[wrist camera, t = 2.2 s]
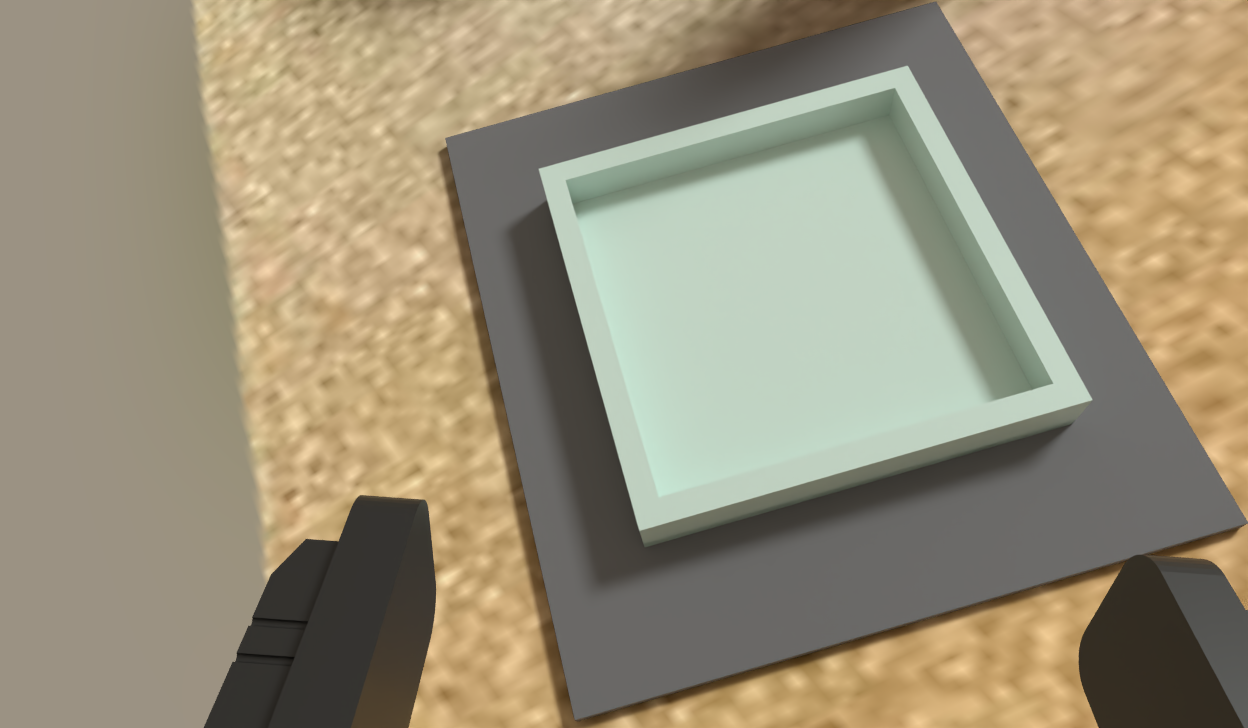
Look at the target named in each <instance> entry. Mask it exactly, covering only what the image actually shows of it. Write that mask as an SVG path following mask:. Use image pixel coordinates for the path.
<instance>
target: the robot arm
mask: <svg viewBox="0 0 1248 728" xmlns="http://www.w3.org/2000/svg"><path fill="white" fill-rule="evenodd" d="M435 603H436V581H435V571H434V561H433V551H432V541H431V531H430V521H429V511H428V506H427V503H426V501H425V500H419V499H406V498H392V497H378V496H365V495H360V496H359V497H358V498H357V499H356V500H355V502H354V504H353V506H352V508H351V510H350V513H349V516H348V518H347V521H346V524H345V526H344V529H343V531H342V534H341V537H340V539H339V541H326V540H312V539H306V540H305V541H304V542H303V543H302V544H301V545H300V546H299V547H298V548H297V549H296V550H295V551H294V552H293V553H292V554H291V555H290V556H289V557H288V558H287V559H286V560H285V561H284V562H283V563H282V564H281V565H280V566H279V567H278V568H277V569H276V570H275V571H274V572H273V573H272V574H271V576H270V578H269V581H268V583H267V585H266V587H265V590H264V592H263V594H262V596H261V599H260V601H259V603H258V606H257V608H256V610H255V612H254V615H253V617H252V618H253V620H252V625H251V626H248V628H247V631H246V633H245V635H244V638H243V640H242V642H241V644H240V647H239V649H238V651H237V658H236V661H235V662H232V665H231V667H230V669H229V672H228V674H227V676H226V679H225V681H224V683H223V685H222V687H221V690H220V692H219V695H218V697H217V699H216V701H215V704H214V706H213V708H212V710H211V712H210V715H209V717H208V719H207V722H206V724H205V726H204V728H408V727H409V723H410V719H411V715H412V711H413V707H414V703H415V699H416V695H417V691H418V687H419V683H420V679H421V675H422V671H423V667H424V663H425V659H426V655H427V651H428V647H429V643H430V638H431V634H432V628H433V622H434V614H435ZM1079 672H1080V678H1081V682H1082V686H1083V689H1084V692H1085V694H1086V697H1087V699H1088V702H1089V704H1090V707H1091V709H1092V712H1093V714H1094V717H1095V719H1096V722H1097V724H1098V727H1099V728H1248V610H1245V608H1244V607H1243V605H1242V603H1241V602H1240V600H1239V598H1238V597H1237V595H1236V593H1235V592H1234V590H1233V588H1232V587H1231V585H1230V583H1229V582H1228V580H1227V578H1226V577H1225V575H1224V574H1223V572H1222V571H1221V570H1220V569H1219V568H1218V566H1217V565H1215V564H1214V563H1212V562H1211V561H1208V560H1205V559H1194V558H1181V557H1167V556H1153V555H1140V554H1139V555H1134V556H1132V557H1131V558H1130V559H1128V560H1127V561H1126V563H1125V564H1124V566H1123V567H1122V569H1121V571H1120V573H1119V574H1118V576H1117V578H1116V579H1115V581H1114V583H1113V584H1112V586H1111V588H1110V589H1109V591H1108V593H1107V595H1106V596H1105V598H1104V600H1103V601H1102V603H1101V605H1100V606H1099V608H1098V610H1097V612H1096V613H1095V615H1094V617H1093V618H1092V620H1091V622H1090V623H1089V625H1088V627H1087V629H1086V630H1085V632H1084V634H1083V636H1082V640H1081V643H1080V648H1079Z"/></svg>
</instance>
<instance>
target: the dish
mask: <svg viewBox="0 0 1248 728" xmlns="http://www.w3.org/2000/svg"><path fill="white" fill-rule="evenodd" d="M539 172H540V176H541V179H542V183H543V186H544V190H545V194H546V197H547V201H548V204H549V208H550V212H551V215H552V219H553V222H554V226H555V230H556V233H557V237H558V240H559V244H560V248H561V251H562V255H563V258H564V262H565V266H566V269H567V273H568V276H569V280H570V284H571V287H572V291H573V294H574V298H575V302H576V305H577V309H578V312H579V316H580V319H581V323H582V327H583V330H584V334H585V337H586V341H587V345H588V348H589V352H590V355H591V359H592V363H593V366H594V370H595V373H596V377H597V381H598V384H599V388H600V391H601V395H602V399H603V402H604V406H605V409H606V413H607V417H608V420H609V424H610V427H611V431H612V435H613V438H614V442H615V445H616V449H617V452H618V456H619V460H620V463H621V467H622V470H623V474H624V478H625V481H626V485H627V488H628V492H629V496H630V499H631V503H632V506H633V510H634V514H635V517H636V521H637V524H638V528H639V531H640V535H641V538H642V541H643V544H644V547H648V546H652V545H655V544H659V543H662V542H666V541H669V540H672V539H676V538H679V537H683V536H686V535H690V534H693V533H697V532H700V531H704V530H707V529H710V528H714V527H717V526H721V525H724V524H728V523H731V522H735V521H738V520H742V519H745V518H749V517H752V516H755V515H759V514H762V513H766V512H769V511H773V510H776V509H780V508H783V507H787V506H790V505H793V504H797V503H800V502H804V501H807V500H811V499H814V498H818V497H821V496H825V495H828V494H832V493H835V492H838V491H842V490H845V489H849V488H852V487H856V486H859V485H863V484H866V483H870V482H873V481H876V480H880V479H883V478H887V477H890V476H894V475H897V474H901V473H904V472H908V471H911V470H915V469H918V468H921V467H925V466H928V465H932V464H935V463H939V462H942V461H946V460H949V459H953V458H956V457H959V456H963V455H966V454H970V453H973V452H977V451H980V450H984V449H987V448H991V447H994V446H998V445H1001V444H1004V443H1008V442H1011V441H1015V440H1018V439H1022V438H1025V437H1029V436H1032V435H1036V434H1039V433H1042V432H1046V431H1049V430H1053V429H1056V428H1060V427H1063V426H1067V425H1070V424H1073V422H1074V421H1075V420H1076V419H1077V418H1078V417H1079V415H1080V414H1081V413H1082V412H1083V411H1084V410H1085V408H1086V407H1087V406H1088V405H1089V404H1090V403H1091V401H1092V398H1091V396H1090V394H1089V392H1088V391H1087V389H1086V387H1085V385H1084V383H1083V382H1082V380H1081V378H1080V376H1079V374H1078V373H1077V371H1076V369H1075V367H1074V365H1073V363H1072V362H1071V360H1070V358H1069V356H1068V354H1067V353H1066V351H1065V349H1064V347H1063V345H1062V344H1061V342H1060V340H1059V338H1058V336H1057V335H1056V333H1055V331H1054V329H1053V327H1052V326H1051V324H1050V322H1049V320H1048V318H1047V316H1046V315H1045V313H1044V311H1043V309H1042V307H1041V306H1040V304H1039V302H1038V300H1037V298H1036V297H1035V295H1034V293H1033V291H1032V289H1031V288H1030V286H1029V284H1028V282H1027V280H1026V278H1025V277H1024V275H1023V273H1022V271H1021V269H1020V268H1019V266H1018V264H1017V262H1016V260H1015V259H1014V257H1013V255H1012V253H1011V251H1010V250H1009V248H1008V246H1007V244H1006V242H1005V241H1004V239H1003V237H1002V235H1001V233H1000V231H999V230H998V228H997V226H996V224H995V222H994V221H993V219H992V217H991V215H990V213H989V212H988V210H987V208H986V206H985V204H984V203H983V201H982V199H981V197H980V195H979V194H978V192H977V190H976V188H975V186H974V184H973V183H972V181H971V179H970V177H969V175H968V174H967V172H966V170H965V168H964V166H963V165H962V163H961V161H960V159H959V157H958V156H957V154H956V152H955V150H954V148H953V147H952V145H951V143H950V141H949V139H948V137H947V136H946V134H945V132H944V130H943V128H942V127H941V125H940V123H939V121H938V119H937V118H936V116H935V114H934V112H933V110H932V109H931V107H930V105H929V103H928V101H927V99H926V98H925V96H924V94H923V92H922V90H921V89H920V87H919V85H918V83H917V81H916V80H915V78H914V76H913V74H912V72H911V71H910V69H909V67H908V66H904V67H901V68H897V69H894V70H890V71H887V72H883V73H879V74H876V75H872V76H869V77H865V78H862V79H858V80H854V81H851V82H847V83H844V84H840V85H837V86H833V87H829V88H826V89H822V90H819V91H815V92H812V93H808V94H804V95H801V96H797V97H794V98H790V99H787V100H783V101H779V102H776V103H772V104H769V105H765V106H761V107H758V108H754V109H751V110H747V111H744V112H740V113H736V114H733V115H729V116H726V117H722V118H719V119H715V120H711V121H708V122H704V123H701V124H697V125H694V126H690V127H686V128H683V129H679V130H676V131H672V132H669V133H665V134H661V135H658V136H654V137H651V138H647V139H644V140H640V141H636V142H633V143H629V144H626V145H622V146H619V147H615V148H611V149H608V150H604V151H601V152H597V153H594V154H590V155H586V156H583V157H579V158H576V159H572V160H568V161H565V162H561V163H558V164H554V165H551V166H547V167H543V168H540V169H539Z"/></svg>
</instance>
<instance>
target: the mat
mask: <svg viewBox="0 0 1248 728" xmlns="http://www.w3.org/2000/svg"><path fill="white" fill-rule="evenodd" d="M904 66H908V67H909V69H910V71H911V72H912V74H913V76H914V78H915V80H916V81H917V83H918V85H919V87H920V89H921V90H922V92H923V94H924V96H925V98H926V99H927V101H928V103H929V105H930V107H931V109H932V110H933V112H934V114H935V116H936V118H937V119H938V121H939V123H940V125H941V127H942V128H943V130H944V132H945V134H946V136H947V137H948V139H949V141H950V143H951V145H952V147H953V148H954V150H955V152H956V154H957V156H958V157H959V159H960V161H961V163H962V165H963V166H964V168H965V170H966V172H967V174H968V175H969V177H970V179H971V181H972V183H973V184H974V186H975V188H976V190H977V192H978V194H979V195H980V197H981V199H982V201H983V203H984V204H985V206H986V208H987V210H988V212H989V213H990V215H991V217H992V219H993V221H994V222H995V224H996V226H997V228H998V230H999V231H1000V233H1001V235H1002V237H1003V239H1004V241H1005V242H1006V244H1007V246H1008V248H1009V250H1010V251H1011V253H1012V255H1013V257H1014V259H1015V260H1016V262H1017V264H1018V266H1019V268H1020V269H1021V271H1022V273H1023V275H1024V277H1025V278H1026V280H1027V282H1028V284H1029V286H1030V288H1031V289H1032V291H1033V293H1034V295H1035V297H1036V298H1037V300H1038V302H1039V304H1040V306H1041V307H1042V309H1043V311H1044V313H1045V315H1046V316H1047V318H1048V320H1049V322H1050V324H1051V326H1052V327H1053V329H1054V331H1055V333H1056V335H1057V336H1058V338H1059V340H1060V342H1061V344H1062V345H1063V347H1064V349H1065V351H1066V353H1067V354H1068V356H1069V358H1070V360H1071V362H1072V363H1073V365H1074V367H1075V369H1076V371H1077V373H1078V374H1079V376H1080V378H1081V380H1082V382H1083V383H1084V385H1085V387H1086V389H1087V391H1088V392H1089V394H1090V396H1091V398H1092V401H1091V403H1090V404H1089V405H1088V406H1087V407H1086V408H1085V410H1084V411H1083V412H1082V413H1081V414H1080V415H1079V417H1078V418H1077V419H1076V420H1075V421H1074V422H1073V424H1070V425H1067V426H1063V427H1060V428H1056V429H1053V430H1049V431H1046V432H1042V433H1039V434H1036V435H1032V436H1029V437H1025V438H1022V439H1018V440H1015V441H1011V442H1008V443H1004V444H1001V445H998V446H994V447H991V448H987V449H984V450H980V451H977V452H973V453H970V454H966V455H963V456H959V457H956V458H953V459H949V460H946V461H942V462H939V463H935V464H932V465H928V466H925V467H921V468H918V469H915V470H911V471H908V472H904V473H901V474H897V475H894V476H890V477H887V478H883V479H880V480H876V481H873V482H870V483H866V484H863V485H859V486H856V487H852V488H849V489H845V490H842V491H838V492H835V493H832V494H828V495H825V496H821V497H818V498H814V499H811V500H807V501H804V502H800V503H797V504H793V505H790V506H787V507H783V508H780V509H776V510H773V511H769V512H766V513H762V514H759V515H755V516H752V517H749V518H745V519H742V520H738V521H735V522H731V523H728V524H724V525H721V526H717V527H714V528H710V529H707V530H704V531H700V532H697V533H693V534H690V535H686V536H683V537H679V538H676V539H672V540H669V541H666V542H662V543H659V544H655V545H652V546H648V547H644V544H643V541H642V538H641V535H640V531H639V528H638V524H637V521H636V517H635V514H634V510H633V506H632V503H631V499H630V496H629V492H628V488H627V485H626V481H625V478H624V474H623V470H622V467H621V463H620V460H619V456H618V452H617V449H616V445H615V442H614V438H613V435H612V431H611V427H610V424H609V420H608V417H607V413H606V409H605V406H604V402H603V399H602V395H601V391H600V388H599V384H598V381H597V377H596V373H595V370H594V366H593V363H592V359H591V355H590V352H589V348H588V345H587V341H586V337H585V334H584V330H583V327H582V323H581V319H580V316H579V312H578V309H577V305H576V302H575V298H574V294H573V291H572V287H571V284H570V280H569V276H568V273H567V269H566V266H565V262H564V258H563V255H562V251H561V248H560V244H559V240H558V237H557V233H556V230H555V226H554V222H553V219H552V215H551V212H550V208H549V204H548V201H547V197H546V194H545V190H544V186H543V183H542V179H541V176H540V172H539V169H540V168H543V167H547V166H551V165H554V164H558V163H561V162H565V161H568V160H572V159H576V158H579V157H583V156H586V155H590V154H594V153H597V152H601V151H604V150H608V149H611V148H615V147H619V146H622V145H626V144H629V143H633V142H636V141H640V140H644V139H647V138H651V137H654V136H658V135H661V134H665V133H669V132H672V131H676V130H679V129H683V128H686V127H690V126H694V125H697V124H701V123H704V122H708V121H711V120H715V119H719V118H722V117H726V116H729V115H733V114H736V113H740V112H744V111H747V110H751V109H754V108H758V107H761V106H765V105H769V104H772V103H776V102H779V101H783V100H787V99H790V98H794V97H797V96H801V95H804V94H808V93H812V92H815V91H819V90H822V89H826V88H829V87H833V86H837V85H840V84H844V83H847V82H851V81H854V80H858V79H862V78H865V77H869V76H872V75H876V74H879V73H883V72H887V71H890V70H894V69H897V68H901V67H904ZM445 139H446V143H447V148H448V152H449V157H450V161H451V166H452V170H453V175H454V179H455V184H456V188H457V193H458V197H459V202H460V206H461V211H462V215H463V220H464V224H465V229H466V233H467V238H468V242H469V247H470V251H471V256H472V260H473V265H474V269H475V274H476V278H477V283H478V287H479V292H480V296H481V301H482V305H483V310H484V314H485V319H486V323H487V328H488V332H489V337H490V341H491V346H492V350H493V355H494V359H495V364H496V368H497V373H498V377H499V382H500V386H501V391H502V395H503V400H504V404H505V409H506V413H507V418H508V422H509V427H510V431H511V436H512V440H513V445H514V449H515V454H516V458H517V463H518V467H519V472H520V476H521V481H522V485H523V490H524V494H525V499H526V503H527V508H528V512H529V517H530V521H531V526H532V530H533V535H534V539H535V544H536V548H537V553H538V557H539V562H540V566H541V571H542V575H543V580H544V584H545V588H546V593H547V597H548V602H549V606H550V611H551V615H552V620H553V624H554V629H555V633H556V638H557V642H558V647H559V651H560V656H561V660H562V665H563V669H564V674H565V678H566V683H567V687H568V692H569V696H570V701H571V705H572V710H573V714H574V719H575V721H580V720H584V719H587V718H591V717H594V716H597V715H601V714H604V713H608V712H611V711H614V710H618V709H621V708H625V707H628V706H632V705H635V704H638V703H642V702H645V701H649V700H652V699H655V698H659V697H662V696H666V695H669V694H673V693H676V692H679V691H683V690H686V689H690V688H693V687H696V686H700V685H703V684H707V683H710V682H714V681H717V680H720V679H724V678H727V677H731V676H734V675H737V674H741V673H744V672H748V671H751V670H755V669H758V668H761V667H765V666H768V665H772V664H775V663H778V662H782V661H785V660H789V659H792V658H796V657H799V656H802V655H806V654H809V653H813V652H816V651H819V650H823V649H826V648H830V647H833V646H837V645H840V644H843V643H847V642H850V641H854V640H857V639H860V638H864V637H867V636H871V635H874V634H878V633H881V632H884V631H888V630H891V629H895V628H898V627H901V626H905V625H908V624H912V623H915V622H919V621H922V620H925V619H929V618H932V617H936V616H939V615H942V614H946V613H949V612H953V611H956V610H960V609H963V608H966V607H970V606H973V605H977V604H980V603H983V602H987V601H990V600H994V599H997V598H1001V597H1004V596H1007V595H1011V594H1014V593H1018V592H1021V591H1024V590H1028V589H1031V588H1035V587H1038V586H1042V585H1045V584H1048V583H1052V582H1055V581H1059V580H1062V579H1065V578H1069V577H1072V576H1076V575H1079V574H1083V573H1086V572H1089V571H1093V570H1096V569H1100V568H1103V567H1106V566H1110V565H1113V564H1117V563H1120V562H1124V561H1127V560H1128V559H1130V558H1131V557H1132V556H1134V555H1139V554H1140V555H1147V554H1151V553H1154V552H1158V551H1161V550H1165V549H1168V548H1171V547H1175V546H1178V545H1182V544H1185V543H1188V542H1192V541H1195V540H1199V539H1202V538H1206V537H1209V536H1212V535H1216V534H1219V533H1223V532H1226V531H1229V530H1233V529H1236V528H1240V527H1242V526H1244V525H1246V524H1248V522H1247V520H1246V518H1245V517H1244V515H1243V513H1242V512H1241V510H1240V508H1239V507H1238V505H1237V503H1236V502H1235V500H1234V498H1233V497H1232V495H1231V493H1230V492H1229V490H1228V488H1227V487H1226V485H1225V483H1224V482H1223V480H1222V478H1221V477H1220V475H1219V473H1218V472H1217V470H1216V468H1215V467H1214V465H1213V463H1212V462H1211V460H1210V458H1209V457H1208V455H1207V453H1206V452H1205V450H1204V448H1203V447H1202V445H1201V443H1200V442H1199V440H1198V438H1197V437H1196V435H1195V433H1194V432H1193V430H1192V428H1191V426H1190V425H1189V423H1188V421H1187V420H1186V418H1185V416H1184V415H1183V413H1182V411H1181V410H1180V408H1179V406H1178V405H1177V403H1176V401H1175V400H1174V398H1173V396H1172V395H1171V393H1170V391H1169V390H1168V388H1167V386H1166V385H1165V383H1164V381H1163V380H1162V378H1161V376H1160V375H1159V373H1158V371H1157V370H1156V368H1155V366H1154V365H1153V363H1152V361H1151V360H1150V358H1149V356H1148V355H1147V353H1146V351H1145V350H1144V348H1143V346H1142V345H1141V343H1140V341H1139V340H1138V338H1137V336H1136V335H1135V333H1134V331H1133V330H1132V328H1131V326H1130V325H1129V323H1128V321H1127V320H1126V318H1125V316H1124V315H1123V313H1122V311H1121V310H1120V308H1119V306H1118V305H1117V303H1116V301H1115V300H1114V298H1113V296H1112V295H1111V293H1110V291H1109V290H1108V288H1107V286H1106V285H1105V283H1104V281H1103V280H1102V278H1101V276H1100V275H1099V273H1098V271H1097V270H1096V268H1095V266H1094V265H1093V263H1092V261H1091V260H1090V258H1089V256H1088V255H1087V253H1086V251H1085V250H1084V248H1083V246H1082V245H1081V243H1080V241H1079V240H1078V238H1077V236H1076V235H1075V233H1074V231H1073V230H1072V228H1071V226H1070V225H1069V223H1068V221H1067V220H1066V218H1065V216H1064V214H1063V213H1062V211H1061V209H1060V208H1059V206H1058V204H1057V203H1056V201H1055V199H1054V198H1053V196H1052V194H1051V193H1050V191H1049V189H1048V188H1047V186H1046V184H1045V183H1044V181H1043V179H1042V178H1041V176H1040V174H1039V173H1038V171H1037V169H1036V168H1035V166H1034V164H1033V163H1032V161H1031V159H1030V158H1029V156H1028V154H1027V153H1026V151H1025V149H1024V148H1023V146H1022V144H1021V143H1020V141H1019V139H1018V138H1017V136H1016V134H1015V133H1014V131H1013V129H1012V128H1011V126H1010V124H1009V123H1008V121H1007V119H1006V118H1005V116H1004V114H1003V113H1002V111H1001V109H1000V108H999V106H998V104H997V103H996V101H995V99H994V98H993V96H992V94H991V93H990V91H989V89H988V88H987V86H986V84H985V83H984V81H983V79H982V78H981V76H980V74H979V73H978V71H977V69H976V68H975V66H974V64H973V63H972V61H971V59H970V58H969V56H968V54H967V53H966V51H965V49H964V48H963V46H962V44H961V43H960V41H959V39H958V38H957V36H956V34H955V33H954V31H953V29H952V28H951V26H950V24H949V23H948V21H947V19H946V18H945V16H944V14H943V13H942V11H941V9H940V7H939V6H938V4H937V2H932V3H929V4H925V5H922V6H918V7H914V8H911V9H907V10H904V11H900V12H896V13H893V14H889V15H886V16H882V17H878V18H875V19H871V20H868V21H864V22H860V23H857V24H853V25H850V26H846V27H843V28H839V29H835V30H832V31H828V32H825V33H821V34H817V35H814V36H810V37H807V38H803V39H799V40H796V41H792V42H789V43H785V44H781V45H778V46H774V47H771V48H767V49H764V50H760V51H756V52H753V53H749V54H746V55H742V56H738V57H735V58H731V59H728V60H724V61H720V62H717V63H713V64H710V65H706V66H702V67H699V68H695V69H692V70H688V71H685V72H681V73H677V74H674V75H670V76H667V77H663V78H659V79H656V80H652V81H649V82H645V83H641V84H638V85H634V86H631V87H627V88H623V89H620V90H616V91H613V92H609V93H606V94H602V95H598V96H595V97H591V98H588V99H584V100H580V101H577V102H573V103H570V104H566V105H562V106H559V107H555V108H552V109H548V110H544V111H541V112H537V113H534V114H530V115H527V116H523V117H519V118H516V119H512V120H509V121H505V122H501V123H498V124H494V125H491V126H487V127H483V128H480V129H476V130H473V131H469V132H465V133H462V134H458V135H455V136H451V137H448V138H445Z"/></svg>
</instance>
